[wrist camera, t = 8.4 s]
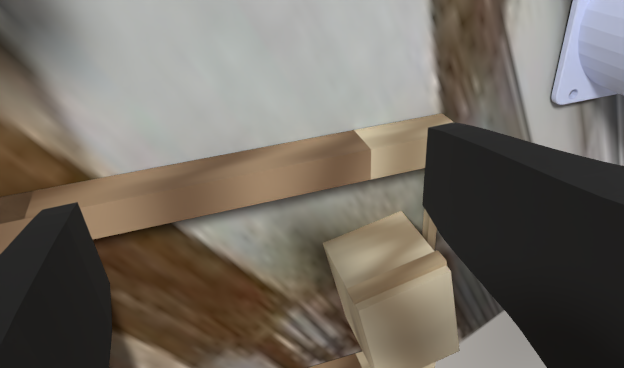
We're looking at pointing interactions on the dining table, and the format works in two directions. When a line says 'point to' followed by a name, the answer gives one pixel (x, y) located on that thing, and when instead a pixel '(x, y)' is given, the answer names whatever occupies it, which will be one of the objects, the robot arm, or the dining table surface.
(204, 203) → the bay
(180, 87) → the dining table surface
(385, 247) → the beige cube
